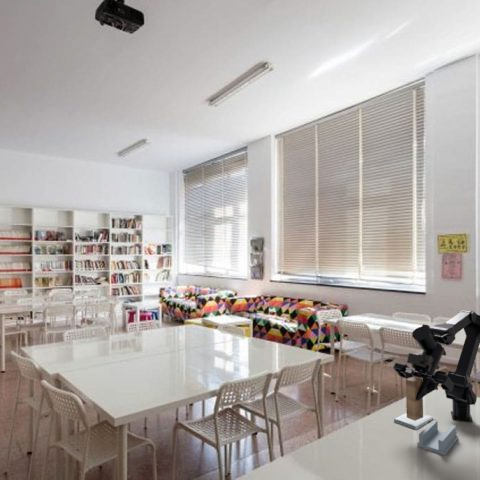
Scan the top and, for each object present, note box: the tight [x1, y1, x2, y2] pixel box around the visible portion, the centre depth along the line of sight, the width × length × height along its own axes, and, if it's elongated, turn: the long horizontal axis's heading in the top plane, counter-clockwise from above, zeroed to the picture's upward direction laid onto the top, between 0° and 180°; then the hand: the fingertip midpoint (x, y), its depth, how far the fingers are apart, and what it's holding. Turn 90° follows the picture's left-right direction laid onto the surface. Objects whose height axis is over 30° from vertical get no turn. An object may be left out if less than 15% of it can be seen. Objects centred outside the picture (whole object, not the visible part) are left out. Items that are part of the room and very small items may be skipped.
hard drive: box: [393, 412, 434, 430], centre depth 144 cm, size 2×8×12 cm
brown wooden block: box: [405, 377, 424, 421], centre depth 131 cm, size 4×3×12 cm, turn 124°
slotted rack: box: [417, 419, 459, 456], centre depth 128 cm, size 14×8×4 cm, turn 137°
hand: (412, 398), depth 130 cm, fingers closed on brown wooden block, 3 cm apart
